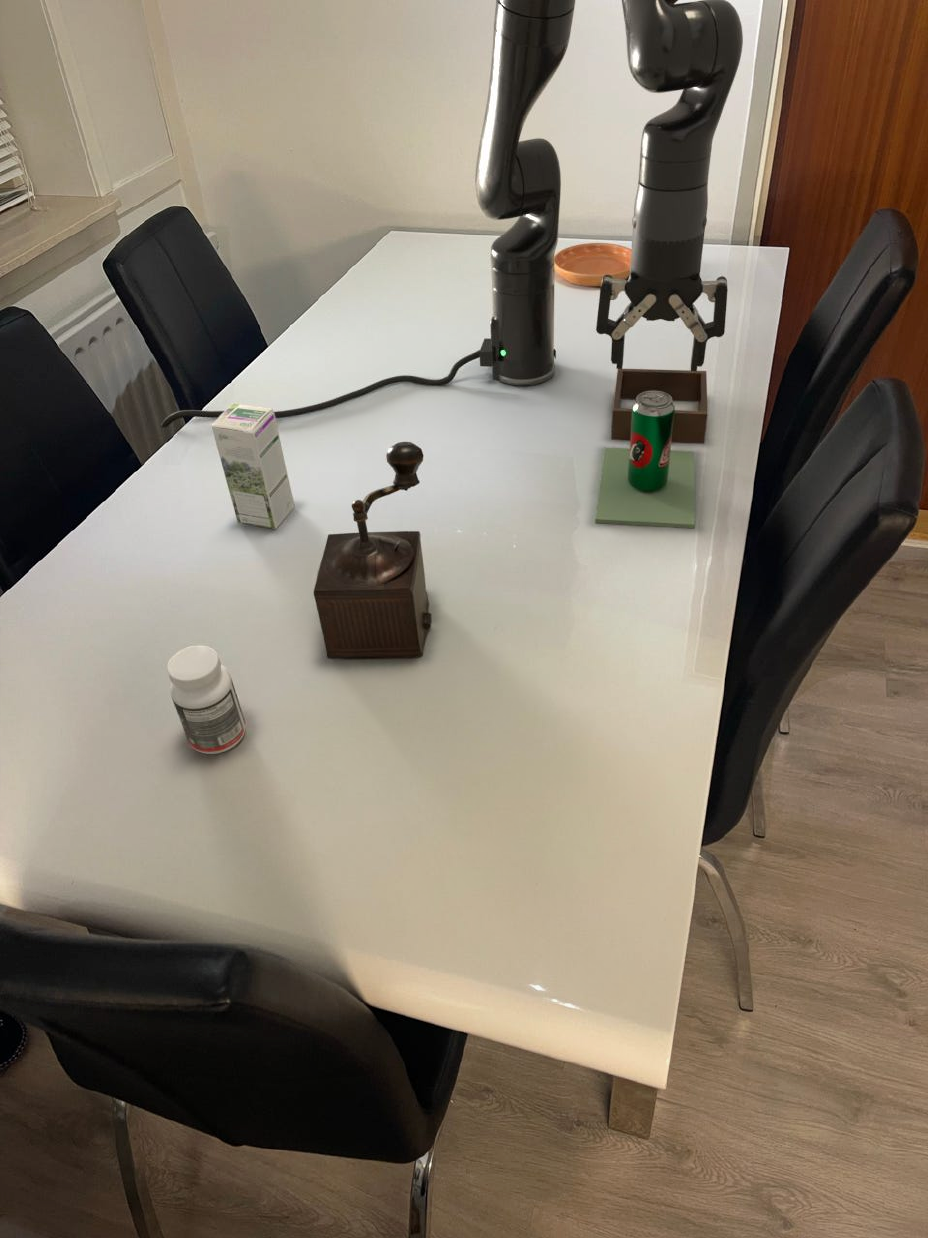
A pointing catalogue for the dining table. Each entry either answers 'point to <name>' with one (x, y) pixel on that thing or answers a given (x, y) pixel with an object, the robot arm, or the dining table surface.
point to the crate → (673, 383)
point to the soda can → (650, 441)
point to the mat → (647, 493)
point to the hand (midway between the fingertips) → (656, 367)
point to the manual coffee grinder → (375, 580)
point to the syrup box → (254, 465)
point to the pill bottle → (205, 700)
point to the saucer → (593, 263)
